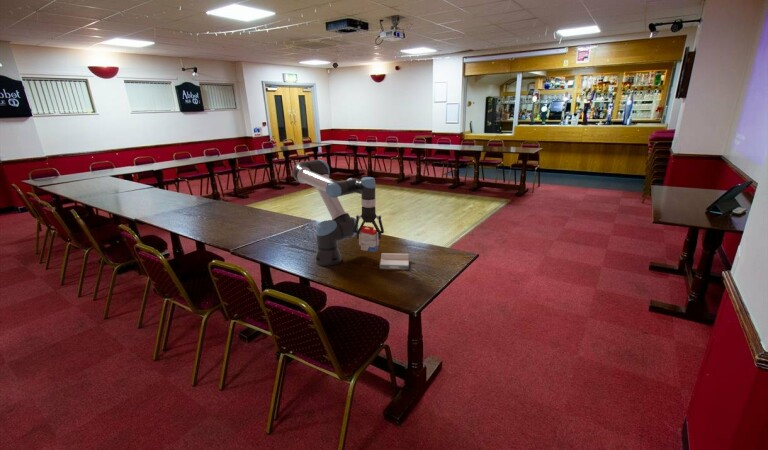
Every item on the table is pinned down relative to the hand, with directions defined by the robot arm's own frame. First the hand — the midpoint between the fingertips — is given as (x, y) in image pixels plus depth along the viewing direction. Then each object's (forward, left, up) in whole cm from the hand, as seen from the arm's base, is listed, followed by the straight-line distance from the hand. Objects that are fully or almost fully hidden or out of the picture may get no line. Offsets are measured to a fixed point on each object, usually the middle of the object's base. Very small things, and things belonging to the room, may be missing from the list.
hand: (369, 244), depth 204 cm
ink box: (0, 0, -3) cm, 3 cm away
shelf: (+14, 0, -12) cm, 19 cm away
